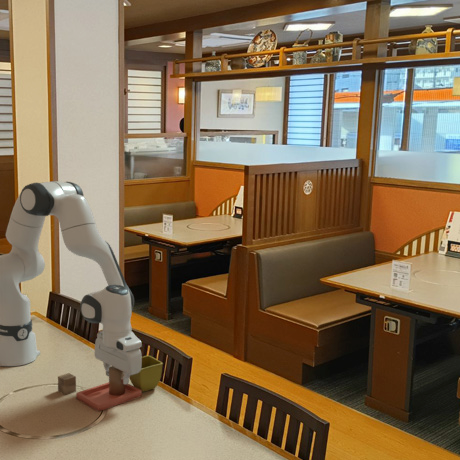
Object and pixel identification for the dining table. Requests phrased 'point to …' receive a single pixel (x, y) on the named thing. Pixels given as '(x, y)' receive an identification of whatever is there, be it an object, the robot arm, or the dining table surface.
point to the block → (67, 383)
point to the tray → (106, 396)
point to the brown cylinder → (116, 382)
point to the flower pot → (147, 374)
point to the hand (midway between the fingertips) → (117, 379)
